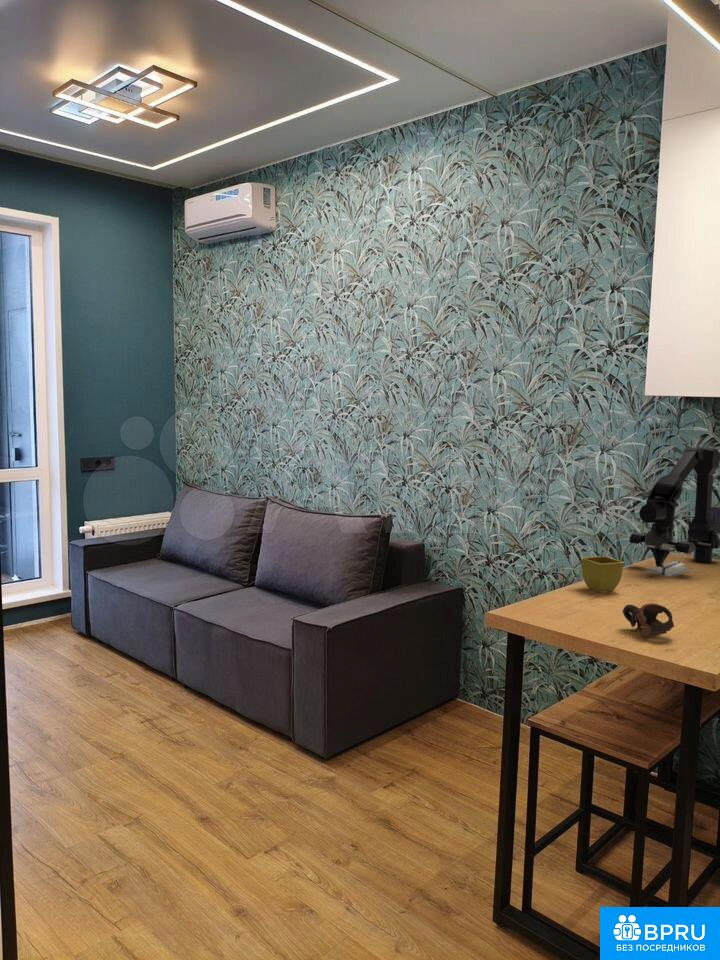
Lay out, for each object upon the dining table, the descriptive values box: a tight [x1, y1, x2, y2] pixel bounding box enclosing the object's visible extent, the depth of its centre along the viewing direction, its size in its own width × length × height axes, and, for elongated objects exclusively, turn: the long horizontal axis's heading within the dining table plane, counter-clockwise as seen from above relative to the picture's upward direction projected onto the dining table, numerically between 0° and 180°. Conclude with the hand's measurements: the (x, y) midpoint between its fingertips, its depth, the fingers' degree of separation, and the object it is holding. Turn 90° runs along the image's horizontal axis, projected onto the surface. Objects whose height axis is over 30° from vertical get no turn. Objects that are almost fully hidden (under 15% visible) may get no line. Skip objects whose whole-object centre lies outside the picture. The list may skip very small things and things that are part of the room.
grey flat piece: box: [644, 562, 692, 578], centre depth 239 cm, size 16×9×3 cm, turn 137°
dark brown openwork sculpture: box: [622, 602, 675, 639], centre depth 178 cm, size 12×10×8 cm
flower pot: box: [580, 555, 625, 593], centre depth 216 cm, size 9×9×9 cm
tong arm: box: [656, 560, 681, 574], centre depth 239 cm, size 14×2×2 cm, turn 135°
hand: (658, 569), depth 237 cm, fingers closed
